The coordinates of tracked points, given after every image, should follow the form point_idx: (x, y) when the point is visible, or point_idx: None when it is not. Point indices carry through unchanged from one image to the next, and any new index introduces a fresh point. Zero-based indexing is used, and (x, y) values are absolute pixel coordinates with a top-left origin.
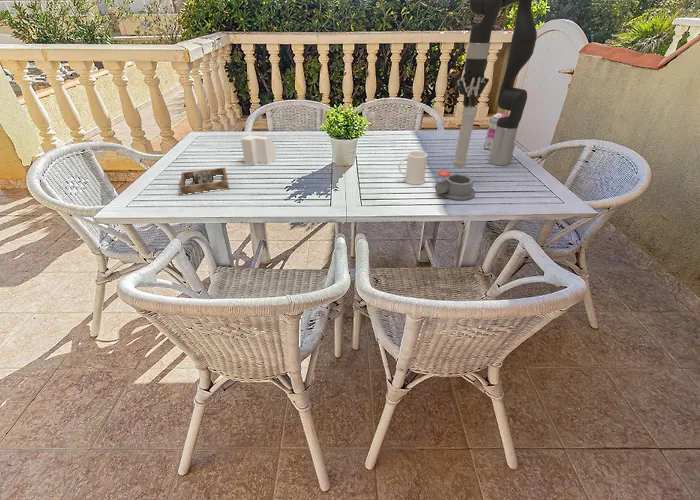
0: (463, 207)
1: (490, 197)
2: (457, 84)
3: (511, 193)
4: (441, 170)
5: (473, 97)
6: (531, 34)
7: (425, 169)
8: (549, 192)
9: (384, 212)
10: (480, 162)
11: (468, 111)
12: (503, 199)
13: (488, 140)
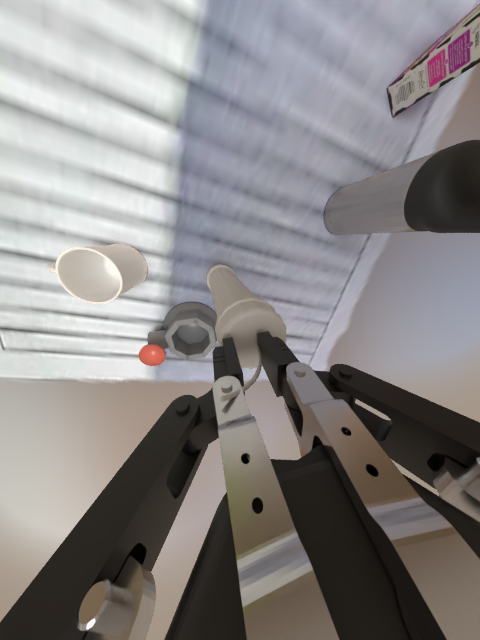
0: (185, 366)
1: None
2: (50, 573)
3: None
4: (149, 346)
5: (275, 389)
6: None
7: (135, 283)
8: (316, 342)
9: (54, 370)
10: (310, 199)
11: None
12: None
13: (416, 77)
